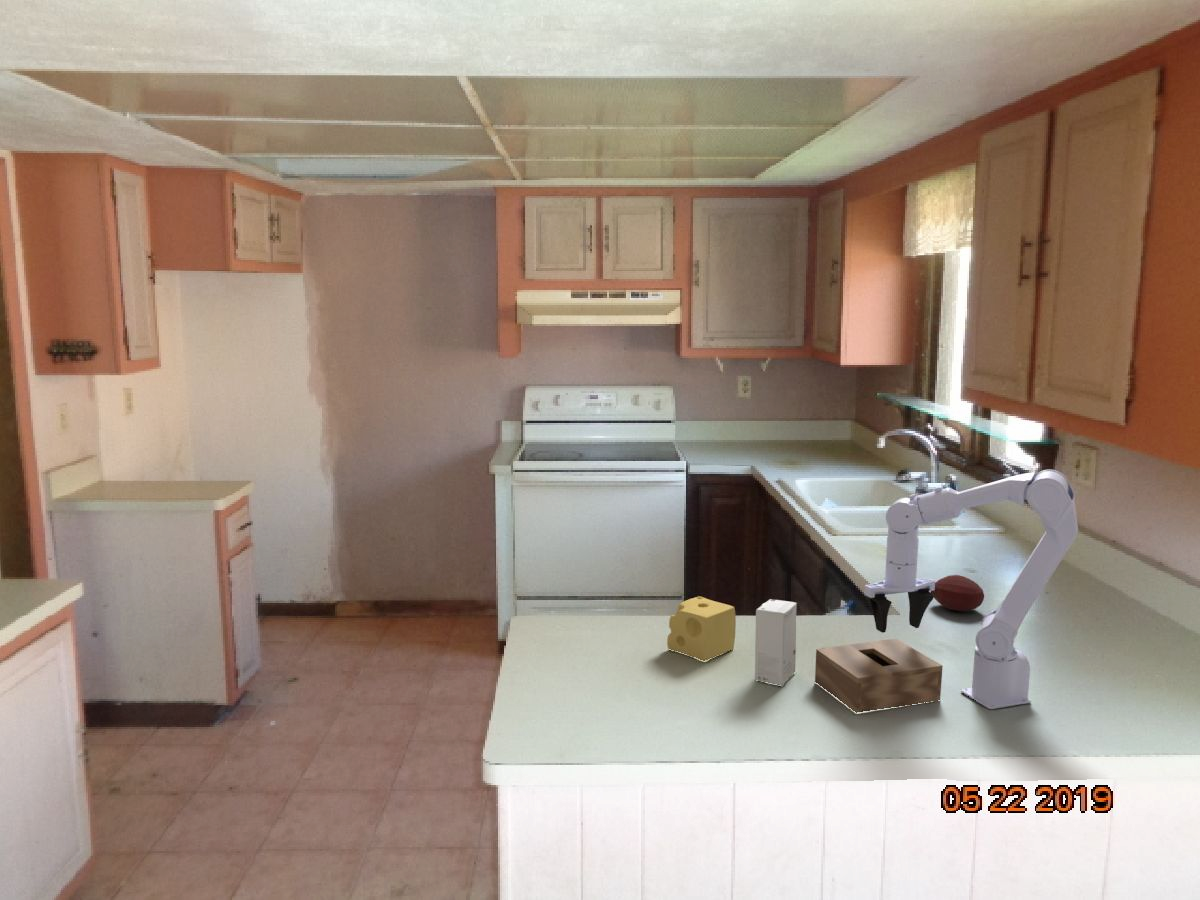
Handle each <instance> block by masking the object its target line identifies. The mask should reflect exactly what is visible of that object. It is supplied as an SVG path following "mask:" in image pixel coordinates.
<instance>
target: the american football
mask: <svg viewBox="0 0 1200 900" xmlns="http://www.w3.org/2000/svg"><path fill="white" fill-rule="evenodd" d="M930 592H931V593H933V594H934V598H933V599H935V601H936V602H937V603H939V605H941V606H942V607H944V608H946V609H949V610H952V611H957V612H970V611H974V610H976V609H977V608H979V607H980V606H981V605H982V604H983V602H984V599H985V593H984V590H983V588H982V587H981V586H980V585H979V584H978V583H977V582H975V581H974V580H972V579H971V578H968V577H966V576H963V575H960V574H954V575H953V574H952V575H951V574H950V575H947V576H945V577H942V578H940V579H938V580H936V581H935V590H933V591H930Z"/></svg>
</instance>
